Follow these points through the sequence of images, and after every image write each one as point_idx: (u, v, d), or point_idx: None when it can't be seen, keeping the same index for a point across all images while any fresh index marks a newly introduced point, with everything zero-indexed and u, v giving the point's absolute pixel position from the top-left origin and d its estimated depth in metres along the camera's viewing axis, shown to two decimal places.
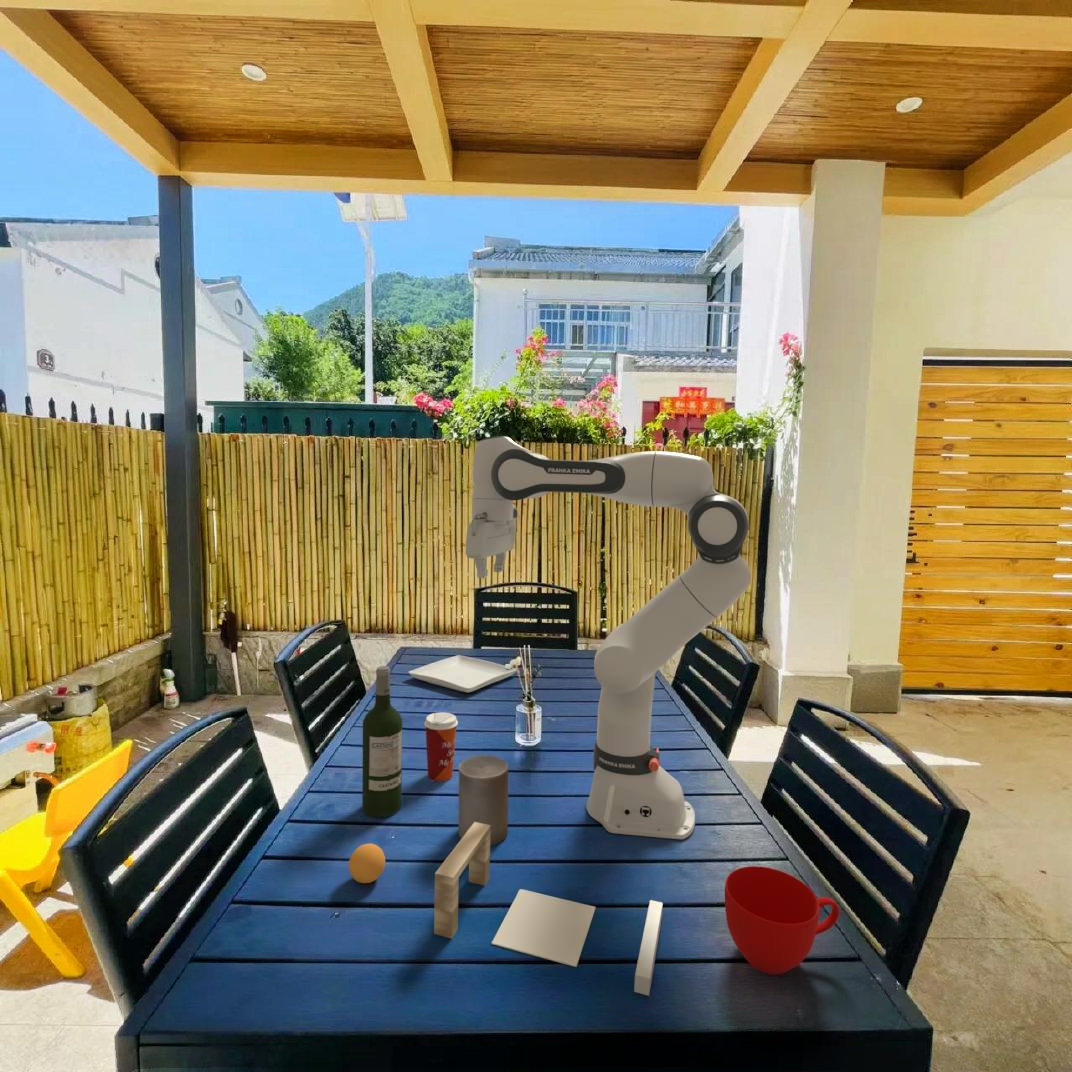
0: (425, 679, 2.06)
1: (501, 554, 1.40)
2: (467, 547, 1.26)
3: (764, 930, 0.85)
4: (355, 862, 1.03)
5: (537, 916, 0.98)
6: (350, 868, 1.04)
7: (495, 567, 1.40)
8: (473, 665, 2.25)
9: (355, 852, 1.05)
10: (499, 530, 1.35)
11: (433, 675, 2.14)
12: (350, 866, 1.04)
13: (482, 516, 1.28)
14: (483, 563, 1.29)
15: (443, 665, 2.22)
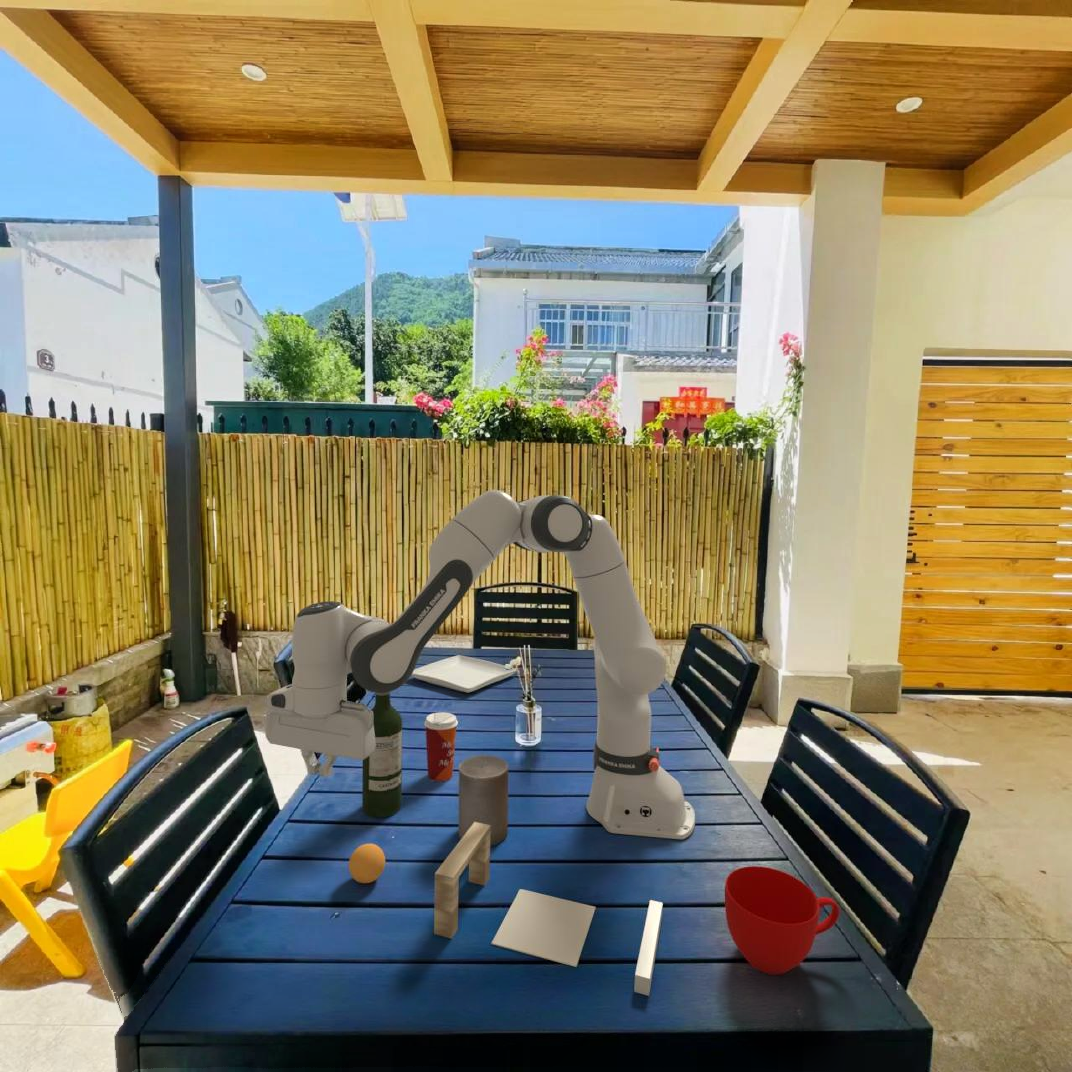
0: (425, 679, 2.06)
1: None
2: (366, 747, 1.03)
3: (764, 930, 0.85)
4: (355, 862, 1.03)
5: (537, 916, 0.98)
6: (350, 868, 1.04)
7: (315, 768, 1.07)
8: (473, 665, 2.25)
9: (355, 852, 1.05)
10: None
11: (433, 675, 2.14)
12: (350, 866, 1.04)
13: None
14: (337, 756, 1.07)
15: (443, 665, 2.22)
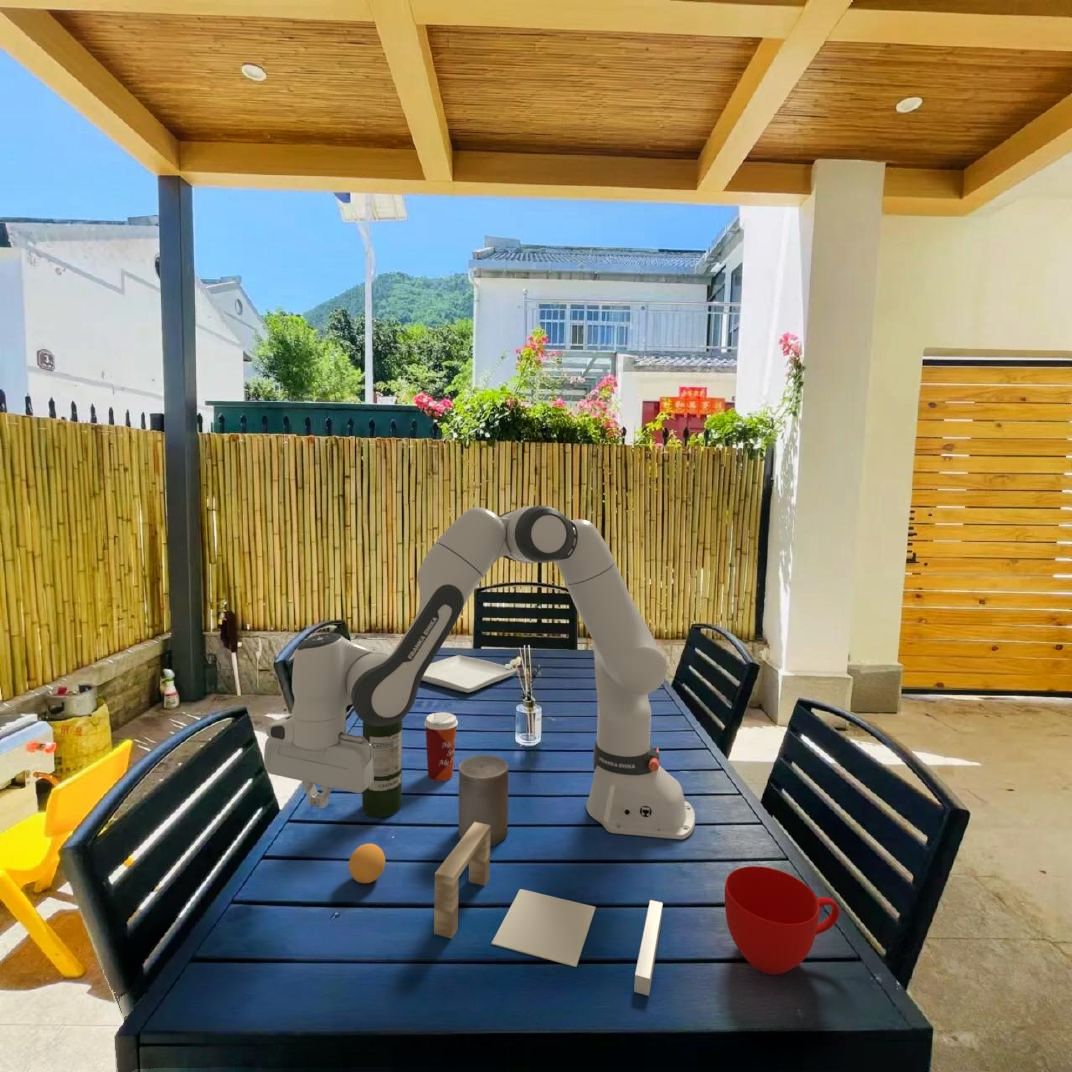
0: (425, 679, 2.06)
1: None
2: (364, 780, 1.03)
3: (764, 930, 0.85)
4: (355, 862, 1.03)
5: (537, 916, 0.98)
6: (350, 868, 1.04)
7: None
8: (473, 665, 2.25)
9: (355, 852, 1.05)
10: None
11: (433, 675, 2.14)
12: (350, 866, 1.04)
13: None
14: None
15: (443, 665, 2.22)
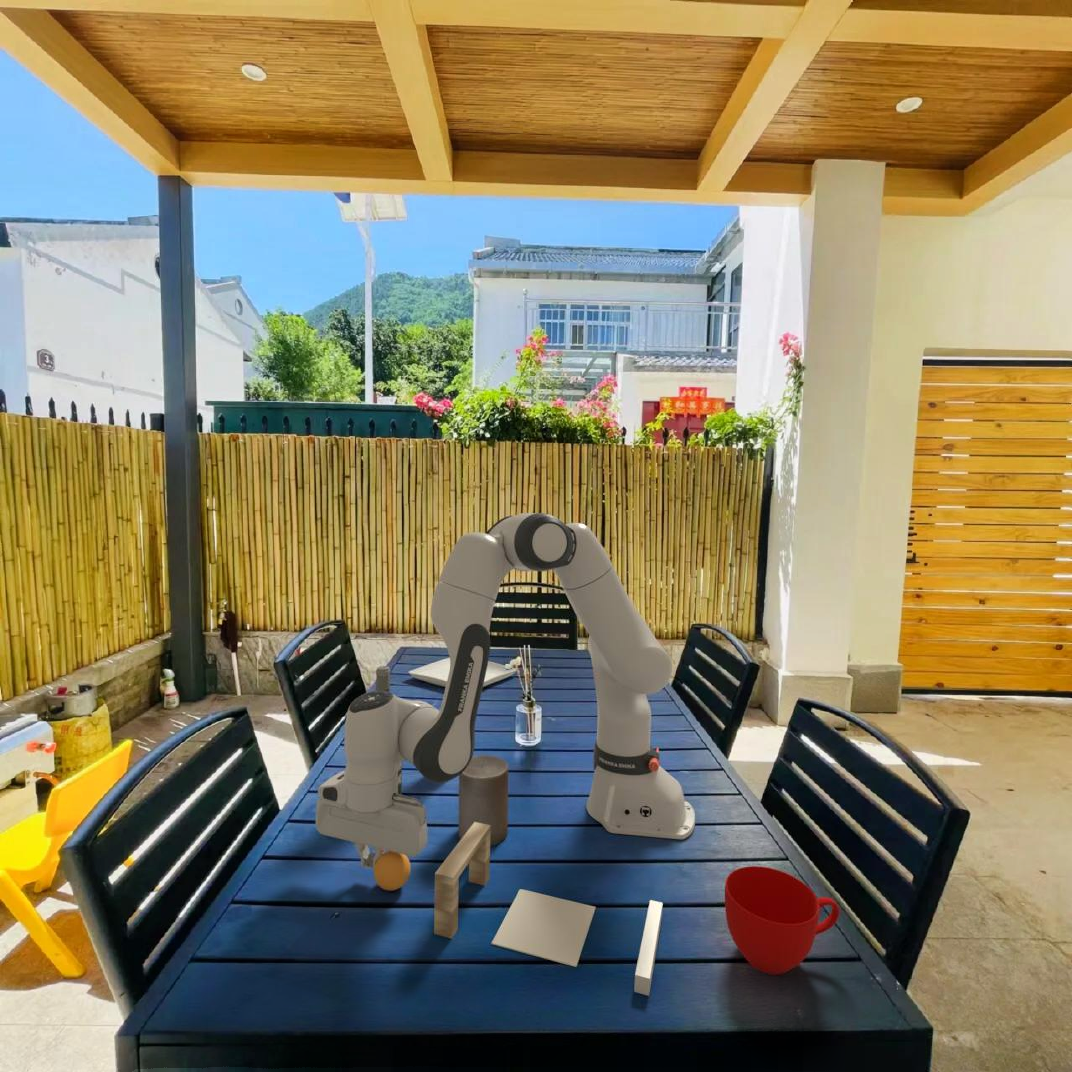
0: (425, 679, 2.06)
1: None
2: (419, 843, 1.01)
3: (764, 930, 0.85)
4: (391, 876, 1.01)
5: (537, 916, 0.98)
6: (383, 869, 1.02)
7: None
8: None
9: (398, 866, 1.02)
10: None
11: (433, 675, 2.14)
12: (385, 869, 1.02)
13: None
14: None
15: (443, 665, 2.22)
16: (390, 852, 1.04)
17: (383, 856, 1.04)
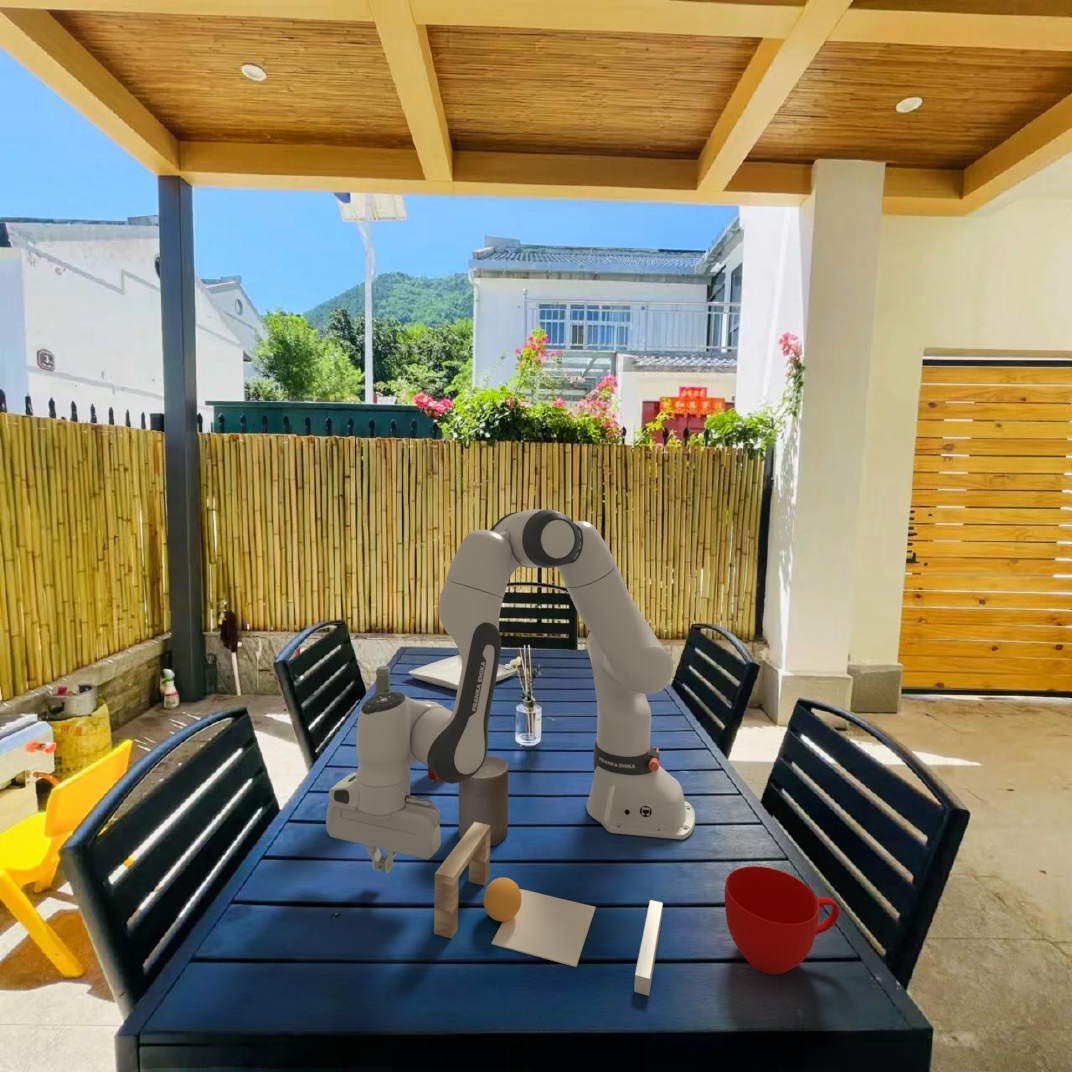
0: (425, 679, 2.06)
1: None
2: (433, 845, 1.00)
3: (764, 930, 0.85)
4: (505, 911, 0.95)
5: (537, 916, 0.98)
6: (499, 901, 0.95)
7: None
8: None
9: (514, 901, 0.96)
10: None
11: (433, 675, 2.14)
12: (501, 902, 0.95)
13: None
14: None
15: (443, 665, 2.22)
16: (507, 882, 0.97)
17: (500, 884, 0.97)
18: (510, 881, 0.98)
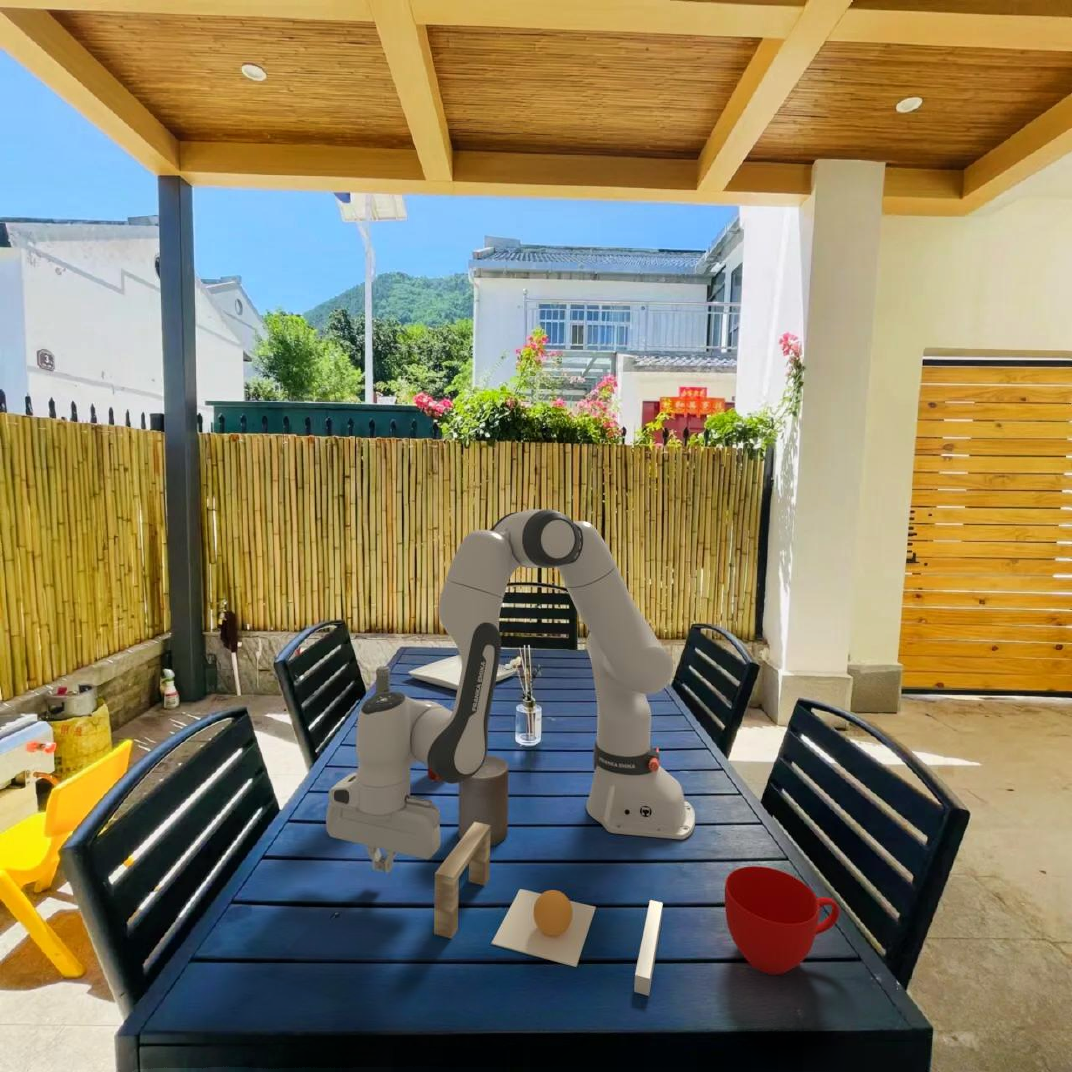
0: (425, 679, 2.06)
1: None
2: (433, 845, 1.00)
3: (764, 930, 0.85)
4: (538, 925, 0.93)
5: None
6: (548, 933, 0.93)
7: None
8: None
9: None
10: None
11: (433, 675, 2.14)
12: (546, 932, 0.93)
13: None
14: None
15: (443, 665, 2.22)
16: None
17: None
18: None
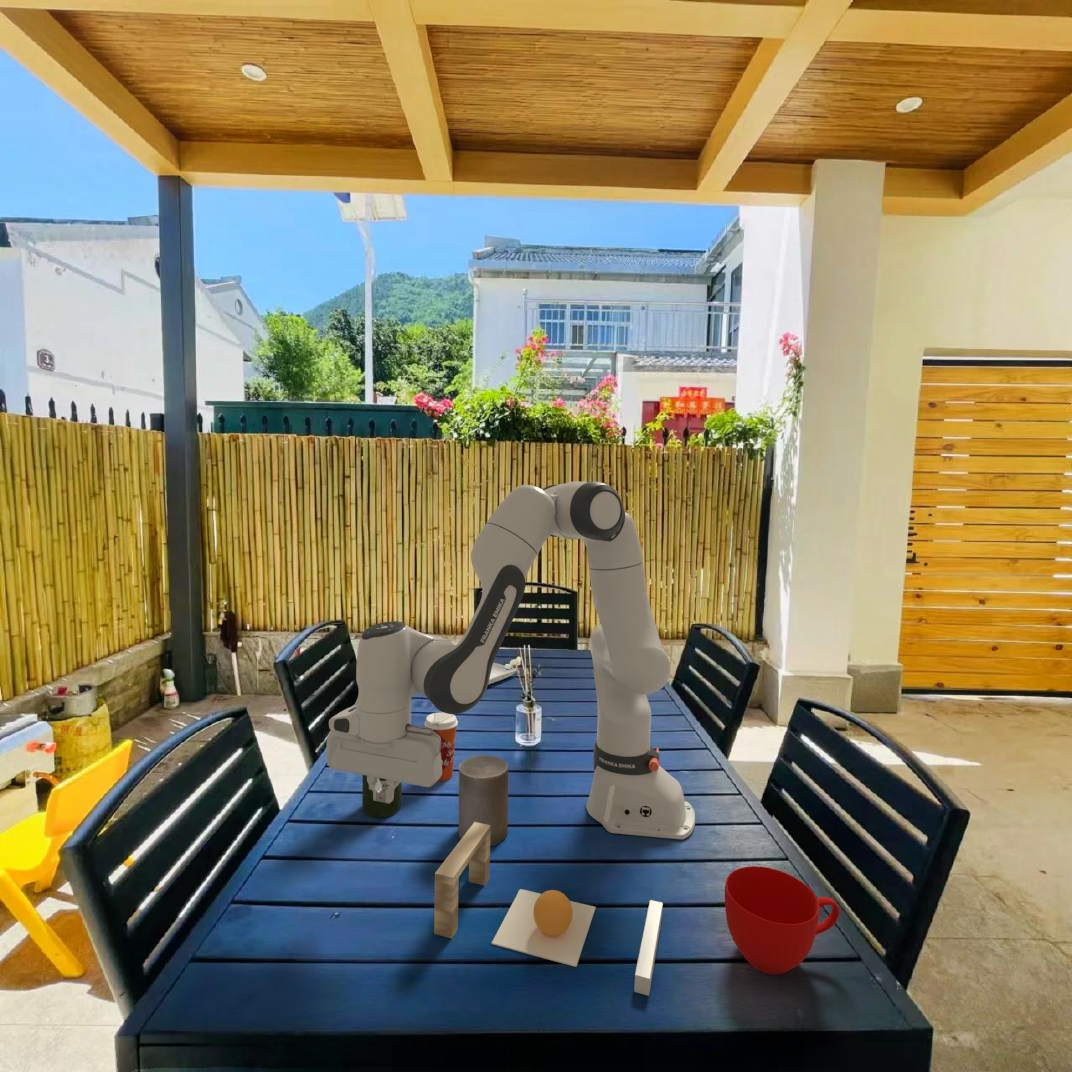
0: None
1: None
2: (434, 773, 0.99)
3: (764, 930, 0.85)
4: (538, 925, 0.93)
5: None
6: (548, 933, 0.93)
7: None
8: None
9: None
10: None
11: None
12: (546, 932, 0.93)
13: None
14: None
15: None
16: None
17: None
18: None
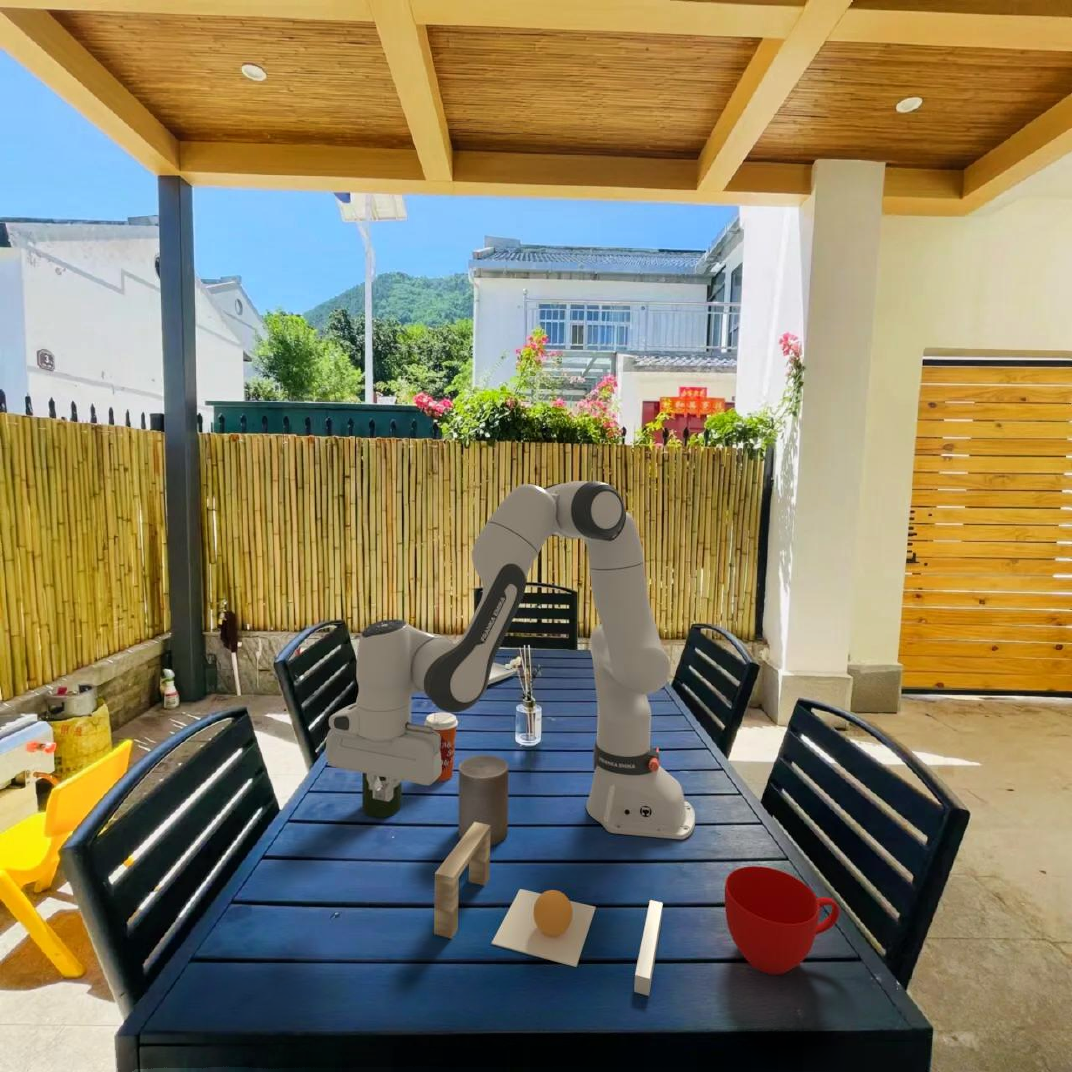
0: None
1: None
2: (434, 771, 0.99)
3: (764, 930, 0.85)
4: (538, 925, 0.93)
5: None
6: (548, 933, 0.93)
7: None
8: None
9: None
10: None
11: None
12: (546, 932, 0.93)
13: None
14: None
15: None
16: None
17: None
18: None
